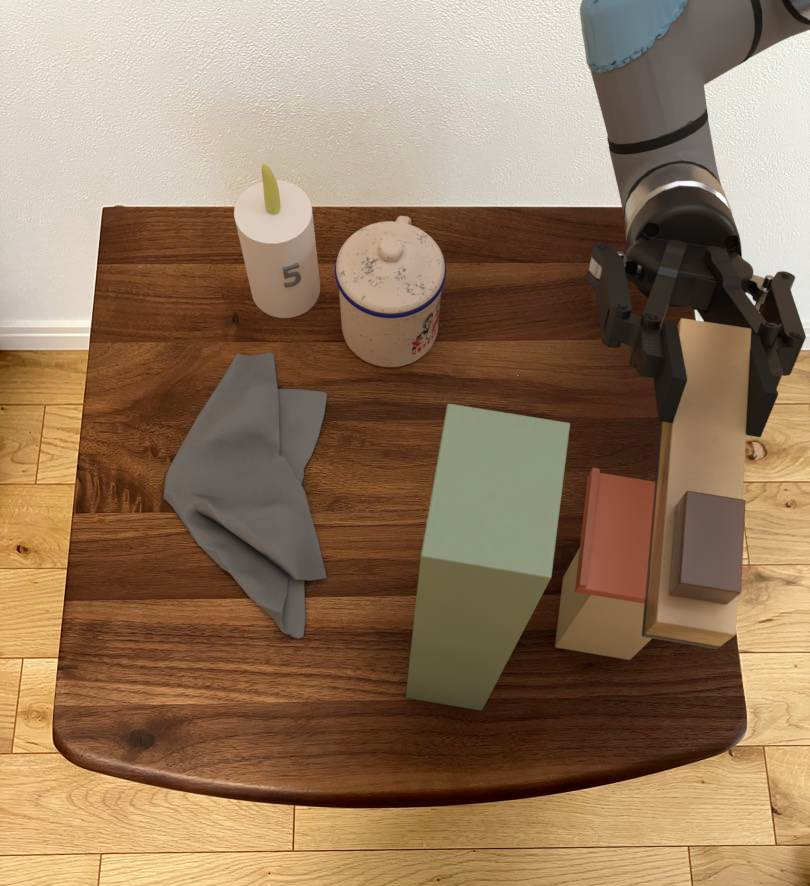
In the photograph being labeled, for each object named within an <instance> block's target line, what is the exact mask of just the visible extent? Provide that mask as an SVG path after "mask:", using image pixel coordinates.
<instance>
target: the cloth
mask: <svg viewBox="0 0 810 886" xmlns="http://www.w3.org/2000/svg"><path fill="white" fill-rule="evenodd" d="M327 401H328V394H327V393H326V392H325V391H318V390H311V389H310V390H309V389H298V388H278V381H277V372H276V363H275V354H274V353H271V352H266V353H265V352H264V353H260V354H254V355H247V354H244V353H239V352H238V353H236V355H235V357H234V358H233V360H232V362H231V363H230V365H229V366H228V368H227V370H226V371H225V373H224V375H223V376H222V377H221V380H220V381H219V383H218V384H217V386H216V387H215V389H214V390H213V392H212V393H211V395H210V397H209V398H208V400H207V401H206V403H205V404H204V406H203V407H202V408H201V410H200V412H199V413H198V415H197V417H196V419H195V420H194V422H193V424H192V426H191V427H190V429H189V431H188V433H187V435H186V436H185V438H184V439H183V442H182V443H181V446H180V447H179V449H178V451H177V452H176V455H175V456H174V459H173V460H172V462H171V463H170V465H169V466H168V470H167V472H166V475H165V479H164V488H163V489H164V490H163V499H164V500H165V501H166V502H167V503H168V504H169V506H171V507H172V509H173V511H174V512H175V513H176V515H177V516H178V518H179V519H180V520H181V522H182V524H183V525H184V527H185V528H186V529H187V531H188V533H189V534H190V535H191V537H192V539H193V540H194V541H195V543H197V545H198V546H199V547H200V548H201V550H203V551H204V552H205V553H206V554H207V555H208V556H209V557H210V558H211V559H212V560H213V561H214V562H215V564H217V565H218V566H219V567H220V569H222V570H224V571H226V572H227V573H229V574H230V575H231V576H232V579H234V580H235V581H236V583H237V584H238V585H239V586H240V588H241V589H242V590H243V591H244V593H246V595H247V596H248V597H249V598H250V599H251V600H252V601H253V602H254V603H255V604H256V605H257V606H258V607H259V608H260V609H262V610H263V611H264V612H265V613H266V614H267V615H268V616H269V617H270V618H271V619H272V620H273V621H274V623H275V624H276V625H277V627H278V628H279V630H280V631H281V633H284V634H286V635H288V636H290V637H292V638H293V639H296V640H300V639H302V638H304V635H305V627H306V619H307V618H306V593H305V592H306V590H305V582H306V581H307V582H312V581H313V582H314V581H319V580H320V581H321V580H326V579H328V577H327V572H326V568H325V563H324V559H323V556H322V550H321V548H320V547H321V546H320V542H319V539H318V535H317V531H316V528H315V525H314V521H313V518H312V514H311V510H310V506H309V502H308V498H307V494H306V491H305V489H304V487H303V485H302V484H303V480H304V477H305V468H306V466H307V464H308V463H309V461H310V460H311V457H312V456H313V453H314V451H315V449H316V446H317V443H318V440H319V438H320V434H321V430H322V426H323V422H324V418H325V415H326V408H327V407H326V406H327Z"/></svg>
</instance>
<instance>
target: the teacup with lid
mask: <svg viewBox="0 0 810 886" xmlns="http://www.w3.org/2000/svg"><path fill="white" fill-rule="evenodd" d="M334 278H335V283H336V285H337V287H338V293H339V295H338V296H339V305H340V306H339V309H340V321H341V331H342V335H343V339H344V341H345V343H346V345H347V346H348V348H349V350H350V351H352V352H353V353H354V354H355V355H356V356H357V357H358V358H359V359H361V360H362V361H364V362H366V363H368V364H370V365H374V366H376V367H377V366H378V367H383V368H398V367H405V366H407V365H410V364H412V363H414V362H416V361H418V360H419V359H421V358H422V357H424V356H425V355H426V354H427V353H428V352H429V351H430V350H431V348H432V346H434V343H435V341H436V339H437V337H438V332H439V331H438V330H439V324H440V323H439V322H440V312H441V301H442V291H443V288H444V285H445V282H446V278H447V265H446V261H445V257H444V254H443V252H442V250H441V249H440V247H439V245H438V244H437V242H436V241H435V240H434V239H433V238H432V236H430V235H429V234H428V233H426V232H425V231H424V230H422V229H421V228H419V227H416V226H414V225H412V218H410V217H409V216H408V215H399V216H397V218H396V219H395V221H389V220H388V221H379V222H375V223H371V224H368V225H366V226H363V227H362V228H359V229H358V230H356V231H355V232H354V233H353V234H351V235H350V236H349V237H348V238H347V239H346V240H345V242H344V243H343V244H342V246H341V247H340V249H339V252H338V254H337V256H336V258H335V263H334Z"/></svg>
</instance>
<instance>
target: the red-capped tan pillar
mask: <svg viewBox="0 0 810 886" xmlns="http://www.w3.org/2000/svg"><path fill="white" fill-rule="evenodd" d="M654 488H655V481H653V480H652V481H651V480H647V479H641V478H633V477H629V476H628V477H627V476H622V475H616V474H609V473H603V472H601V468H598V467H592V468H591V470H590V472H589V474H588V476H587V480H586V488H585V498H584V506H583V514H582V523H581V532H580V542H579V548H578V550H577V551H576V553H575V555H574V556H573V558H572V561H571V562H570V563H569V566H568V568H567V569H566V572H565V573H564V575H563V576H562V584H561V592H560V601H559V608H558V609H559V610H558V619H557V626H556V635H555V643H554V648H557V649H561V650H562V649H563V650H569V651H574V652H581V653H586V654H592V655H597V656H598V655H599V656H603V657H610V658H616V659H621V660H626V661H630V660H632V658H634V657H635V656H636V655H637V654H638V653H639V652H640V651H641V650H642V649H643V648H644V647H645V646H647V644H648V643H649V642H650V641H651V640H653V639H652V638H646V637H642V628H643V616H644V604H645V593H646V581H647V569H648V558H649V546H650V535H651V523H652V511H653V500H654Z"/></svg>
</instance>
